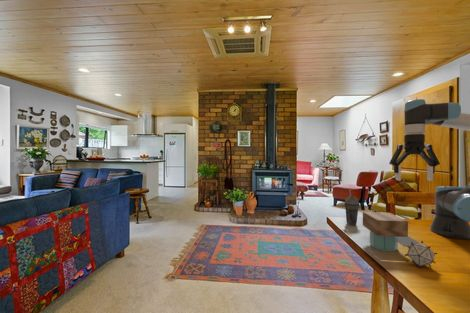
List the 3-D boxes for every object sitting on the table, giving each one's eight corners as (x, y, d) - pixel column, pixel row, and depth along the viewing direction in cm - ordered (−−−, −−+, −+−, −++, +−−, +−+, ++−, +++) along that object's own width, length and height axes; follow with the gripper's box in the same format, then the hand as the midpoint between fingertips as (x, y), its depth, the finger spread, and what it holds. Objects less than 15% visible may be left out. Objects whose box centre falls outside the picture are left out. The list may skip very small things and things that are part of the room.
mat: (405, 235, 111) (405, 234, 111) (428, 248, 96) (428, 247, 96) (385, 234, 112) (385, 233, 112) (404, 247, 97) (404, 246, 97)
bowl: (389, 243, 100) (389, 227, 100) (401, 252, 91) (401, 235, 91) (366, 242, 101) (367, 226, 101) (377, 251, 92) (377, 234, 92)
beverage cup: (361, 227, 122) (361, 189, 122) (346, 226, 123) (346, 188, 123) (356, 223, 129) (357, 187, 129) (342, 222, 130) (343, 186, 130)
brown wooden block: (389, 226, 102) (389, 212, 102) (407, 237, 89) (408, 221, 89) (362, 225, 103) (362, 211, 103) (377, 235, 90) (377, 220, 90)
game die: (415, 276, 81) (395, 251, 82) (419, 260, 86) (400, 237, 88) (444, 274, 74) (422, 246, 76) (446, 256, 80) (426, 231, 81)
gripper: (437, 134, 109) (436, 179, 110) (381, 135, 112) (380, 179, 112) (450, 133, 102) (450, 181, 102) (390, 133, 104) (389, 181, 105)
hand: (413, 180), depth 107 cm, fingers open, 13 cm apart
